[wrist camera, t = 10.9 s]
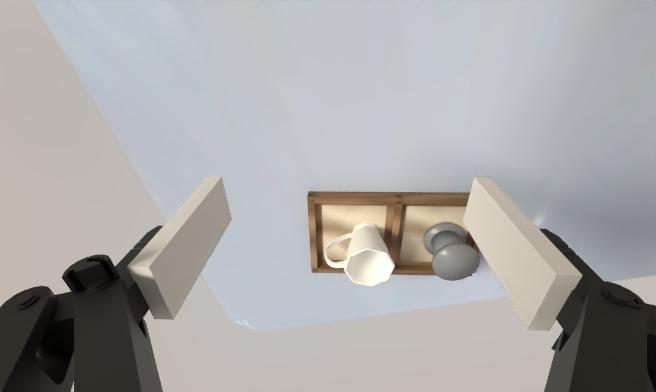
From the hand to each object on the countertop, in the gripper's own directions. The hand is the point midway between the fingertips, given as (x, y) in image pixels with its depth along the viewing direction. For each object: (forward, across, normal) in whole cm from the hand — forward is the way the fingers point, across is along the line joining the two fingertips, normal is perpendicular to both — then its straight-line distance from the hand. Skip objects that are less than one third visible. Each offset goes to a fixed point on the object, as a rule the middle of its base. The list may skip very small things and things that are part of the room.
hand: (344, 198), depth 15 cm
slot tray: (+25, +8, -22) cm, 34 cm away
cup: (+24, +2, -21) cm, 32 cm away
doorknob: (+24, +16, -22) cm, 36 cm away
